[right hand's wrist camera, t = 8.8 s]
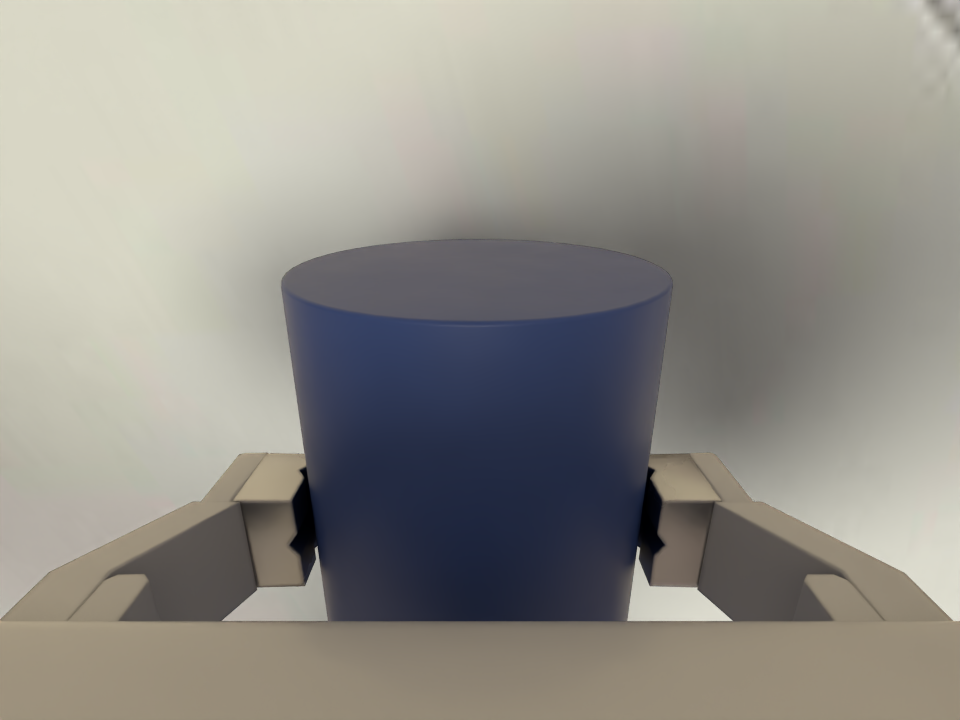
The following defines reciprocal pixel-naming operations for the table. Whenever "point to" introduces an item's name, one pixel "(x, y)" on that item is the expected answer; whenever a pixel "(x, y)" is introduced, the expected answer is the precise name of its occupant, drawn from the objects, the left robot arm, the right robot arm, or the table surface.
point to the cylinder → (477, 425)
